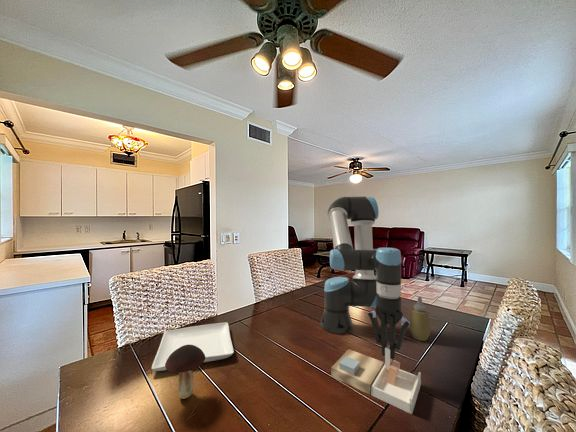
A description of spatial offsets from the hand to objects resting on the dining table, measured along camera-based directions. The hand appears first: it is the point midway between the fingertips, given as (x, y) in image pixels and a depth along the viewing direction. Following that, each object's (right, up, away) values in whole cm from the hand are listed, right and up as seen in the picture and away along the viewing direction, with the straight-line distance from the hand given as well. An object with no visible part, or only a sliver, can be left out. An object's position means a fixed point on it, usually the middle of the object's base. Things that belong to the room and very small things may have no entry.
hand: (388, 366), depth 77 cm
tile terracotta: (0, -1, -1) cm, 1 cm away
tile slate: (-13, -1, +1) cm, 13 cm away
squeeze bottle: (+25, -5, +26) cm, 37 cm away
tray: (0, -4, -5) cm, 6 cm away
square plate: (-70, -5, +18) cm, 73 cm away
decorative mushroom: (-64, -4, -8) cm, 64 cm away
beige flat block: (-9, -4, +3) cm, 10 cm away
